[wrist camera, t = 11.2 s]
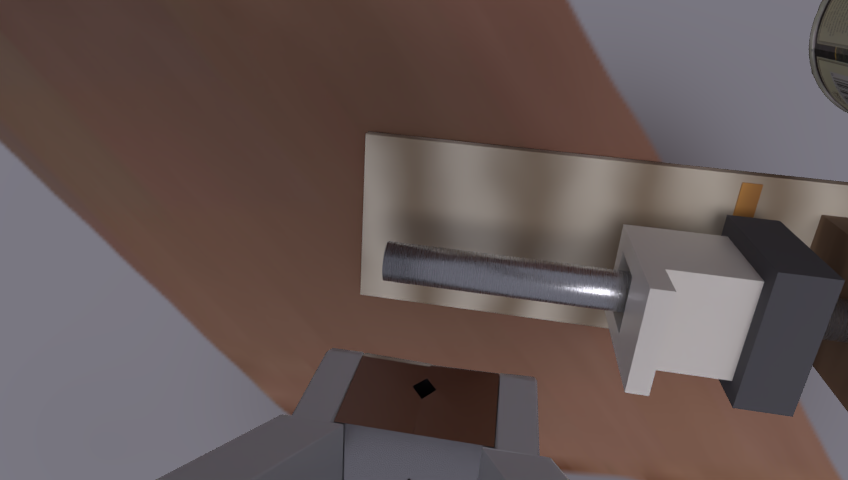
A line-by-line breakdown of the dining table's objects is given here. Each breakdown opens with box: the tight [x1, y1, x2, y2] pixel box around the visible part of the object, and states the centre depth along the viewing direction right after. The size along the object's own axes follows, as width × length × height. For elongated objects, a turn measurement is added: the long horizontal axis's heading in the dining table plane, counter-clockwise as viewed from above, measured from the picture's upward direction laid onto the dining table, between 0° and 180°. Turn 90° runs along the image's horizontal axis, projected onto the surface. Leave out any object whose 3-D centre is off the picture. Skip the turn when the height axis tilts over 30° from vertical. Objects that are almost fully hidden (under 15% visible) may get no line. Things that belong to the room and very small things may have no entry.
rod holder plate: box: [360, 131, 848, 411], centre depth 36 cm, size 35×12×11 cm, turn 85°
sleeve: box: [605, 224, 764, 396], centre depth 33 cm, size 6×6×8 cm
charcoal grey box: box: [719, 215, 845, 417], centre depth 34 cm, size 3×8×8 cm, turn 176°
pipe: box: [382, 241, 848, 343], centre depth 35 cm, size 26×3×3 cm, turn 85°
